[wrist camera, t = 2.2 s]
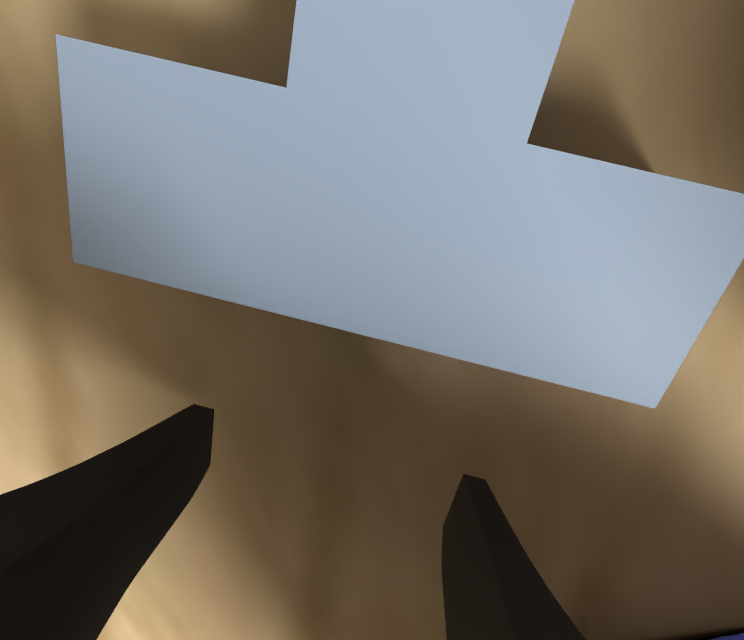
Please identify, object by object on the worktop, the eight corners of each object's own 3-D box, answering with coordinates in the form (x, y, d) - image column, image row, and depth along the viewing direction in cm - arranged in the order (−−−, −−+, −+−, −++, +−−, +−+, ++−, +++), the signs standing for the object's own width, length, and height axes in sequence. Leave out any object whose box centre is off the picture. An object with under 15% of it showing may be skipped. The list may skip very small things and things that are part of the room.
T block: (904, -329, 7) (1365, -795, 3) (589, 335, 11) (654, 408, 8) (184, -464, 7) (-26, -997, 4) (171, 232, 12) (73, 262, 8)
